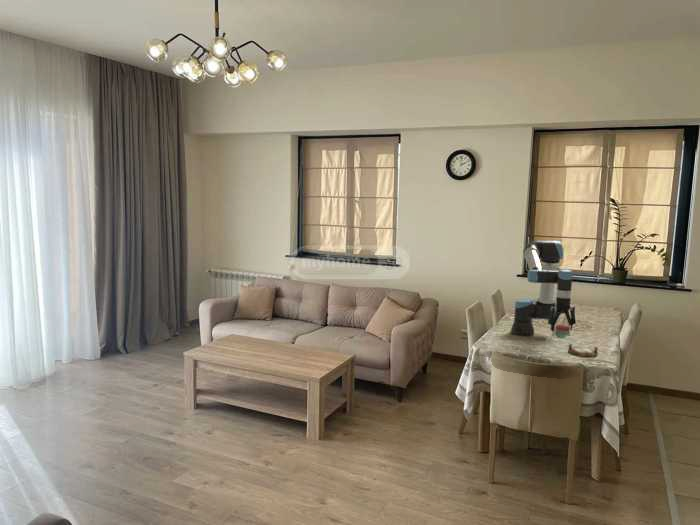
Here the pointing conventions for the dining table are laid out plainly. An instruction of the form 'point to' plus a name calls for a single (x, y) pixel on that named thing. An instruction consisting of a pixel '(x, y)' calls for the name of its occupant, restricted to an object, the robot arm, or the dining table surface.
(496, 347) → the dining table surface
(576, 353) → the plate
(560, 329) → the cupcake
